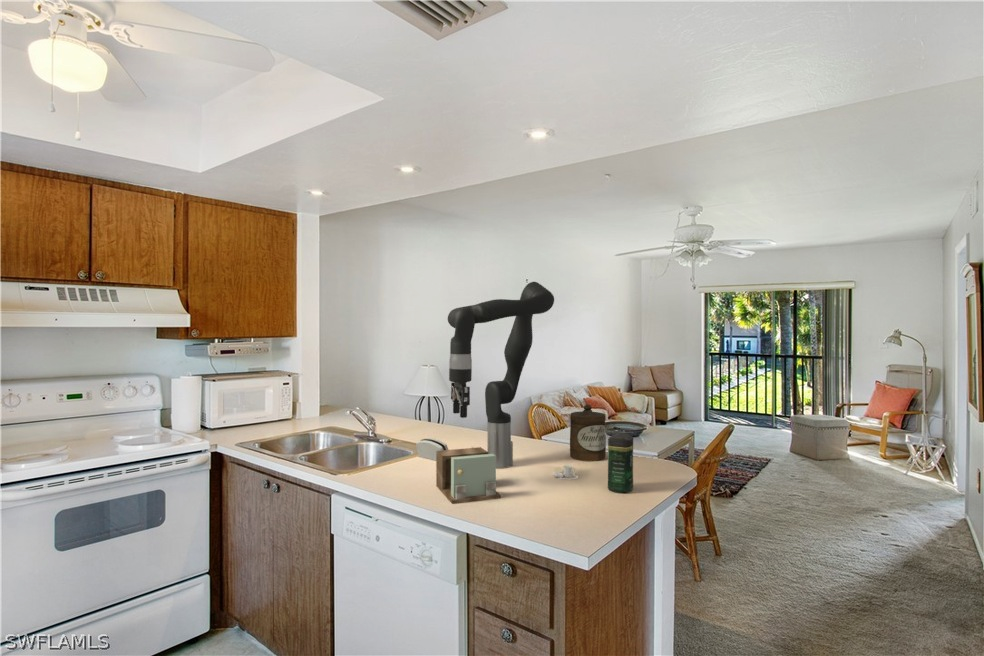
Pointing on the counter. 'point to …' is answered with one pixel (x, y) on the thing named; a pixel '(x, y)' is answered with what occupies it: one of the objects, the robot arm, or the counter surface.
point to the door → (473, 473)
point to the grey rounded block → (430, 448)
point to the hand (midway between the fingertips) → (459, 415)
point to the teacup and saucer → (566, 473)
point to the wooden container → (587, 435)
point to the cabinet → (445, 485)
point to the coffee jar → (620, 462)
